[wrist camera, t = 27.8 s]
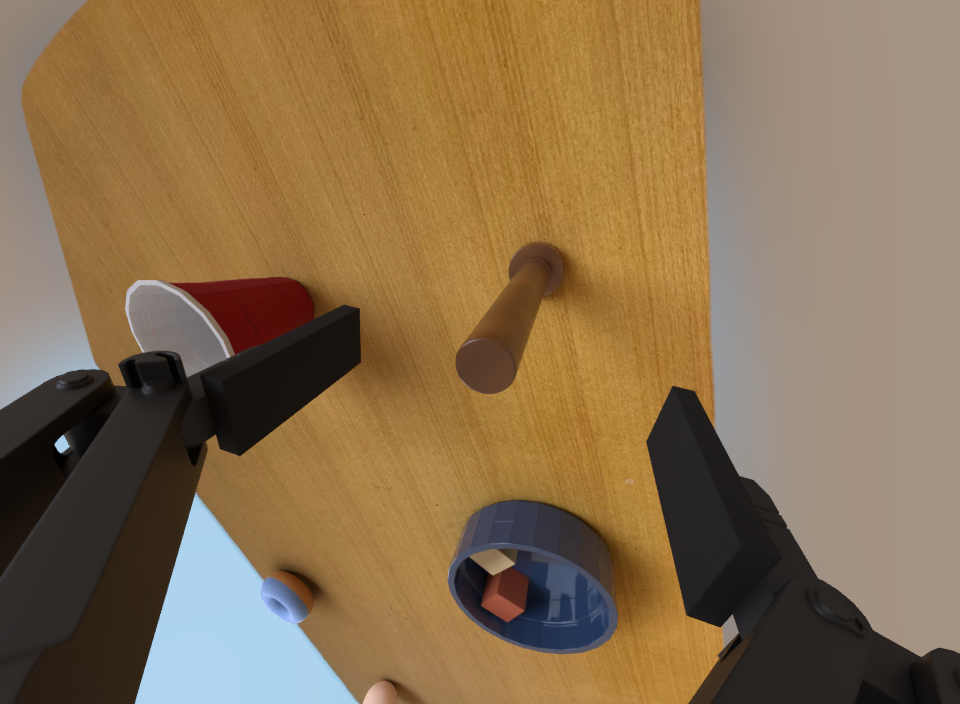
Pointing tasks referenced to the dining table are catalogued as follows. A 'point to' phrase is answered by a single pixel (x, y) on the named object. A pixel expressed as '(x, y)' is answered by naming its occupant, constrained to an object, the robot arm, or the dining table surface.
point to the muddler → (509, 320)
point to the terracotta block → (505, 594)
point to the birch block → (495, 559)
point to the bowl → (540, 577)
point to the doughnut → (287, 596)
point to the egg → (381, 694)
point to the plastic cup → (214, 316)
